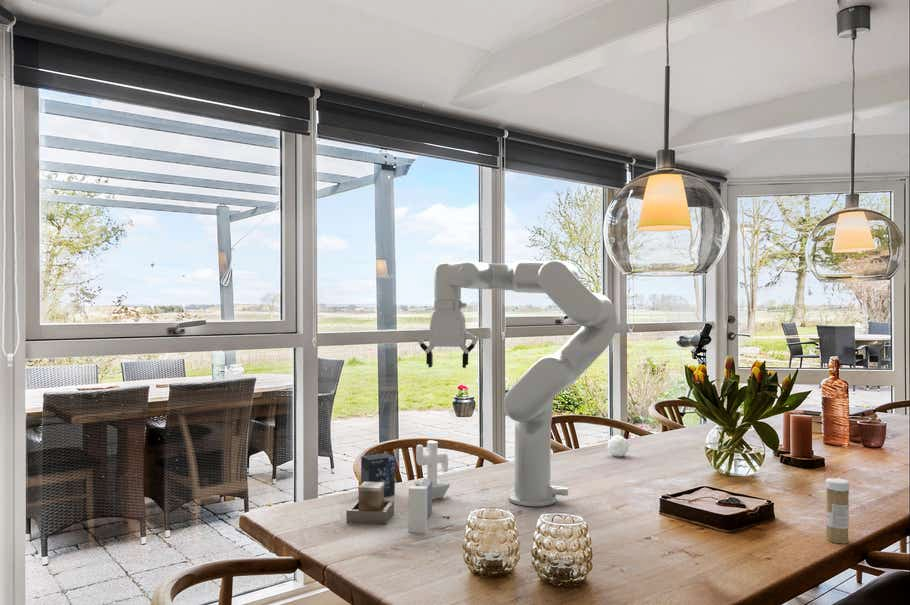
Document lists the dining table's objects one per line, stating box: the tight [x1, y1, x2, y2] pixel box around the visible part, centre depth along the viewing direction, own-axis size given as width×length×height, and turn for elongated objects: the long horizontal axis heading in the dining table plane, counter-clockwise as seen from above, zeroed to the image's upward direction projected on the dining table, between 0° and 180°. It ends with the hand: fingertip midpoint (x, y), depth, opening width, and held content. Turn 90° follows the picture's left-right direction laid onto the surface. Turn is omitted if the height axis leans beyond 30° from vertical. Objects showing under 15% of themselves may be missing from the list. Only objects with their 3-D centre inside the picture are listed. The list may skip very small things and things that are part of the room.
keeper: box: [345, 498, 395, 526], centre depth 165 cm, size 10×10×3 cm
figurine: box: [414, 439, 451, 500], centre depth 183 cm, size 7×9×15 cm
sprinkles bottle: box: [825, 477, 851, 544], centre depth 150 cm, size 5×5×14 cm
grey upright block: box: [407, 478, 433, 534], centre depth 162 cm, size 4×16×10 cm, turn 173°
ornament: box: [606, 435, 630, 458], centre depth 233 cm, size 7×7×8 cm
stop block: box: [357, 482, 385, 511], centre depth 165 cm, size 5×5×8 cm
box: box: [360, 452, 396, 497], centre depth 185 cm, size 8×6×11 cm
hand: (447, 367), depth 191 cm, fingers open, 9 cm apart
